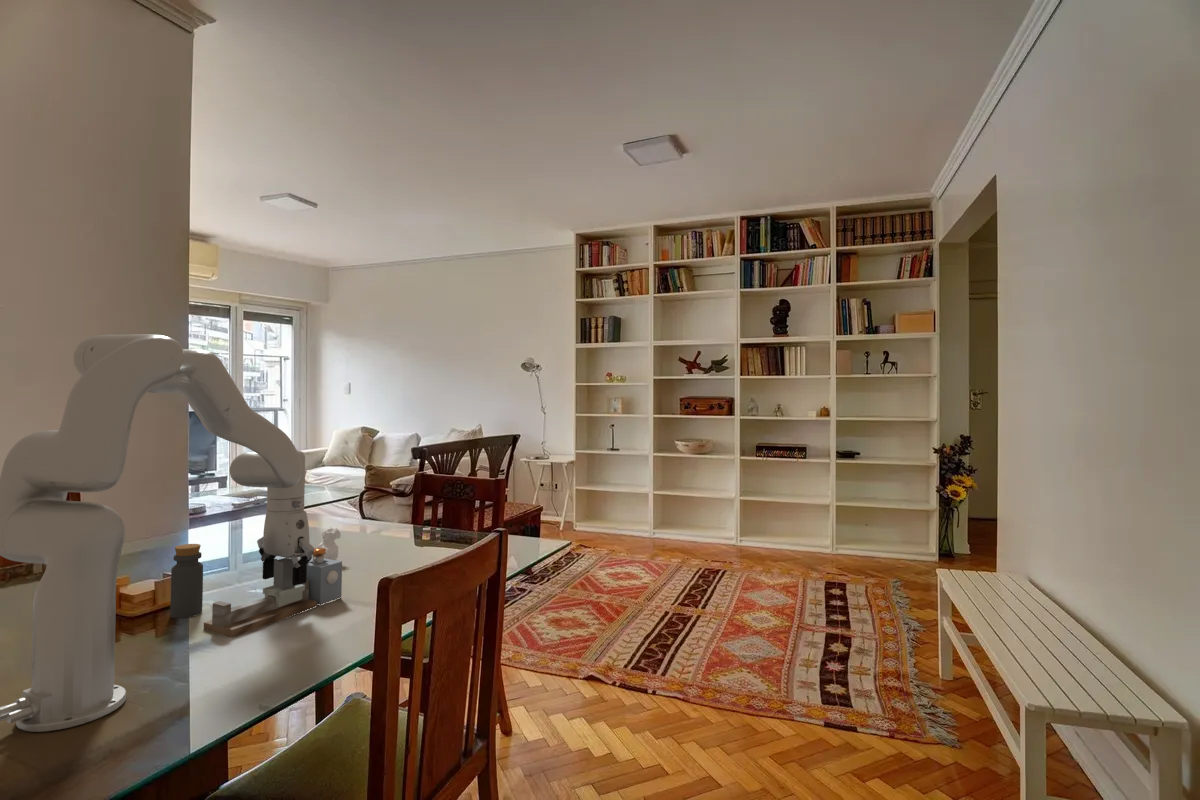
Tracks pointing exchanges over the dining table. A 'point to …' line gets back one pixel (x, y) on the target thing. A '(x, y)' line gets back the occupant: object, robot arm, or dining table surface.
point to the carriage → (284, 584)
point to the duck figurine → (330, 543)
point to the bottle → (186, 582)
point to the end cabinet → (324, 580)
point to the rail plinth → (261, 619)
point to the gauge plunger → (318, 555)
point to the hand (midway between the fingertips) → (284, 580)
